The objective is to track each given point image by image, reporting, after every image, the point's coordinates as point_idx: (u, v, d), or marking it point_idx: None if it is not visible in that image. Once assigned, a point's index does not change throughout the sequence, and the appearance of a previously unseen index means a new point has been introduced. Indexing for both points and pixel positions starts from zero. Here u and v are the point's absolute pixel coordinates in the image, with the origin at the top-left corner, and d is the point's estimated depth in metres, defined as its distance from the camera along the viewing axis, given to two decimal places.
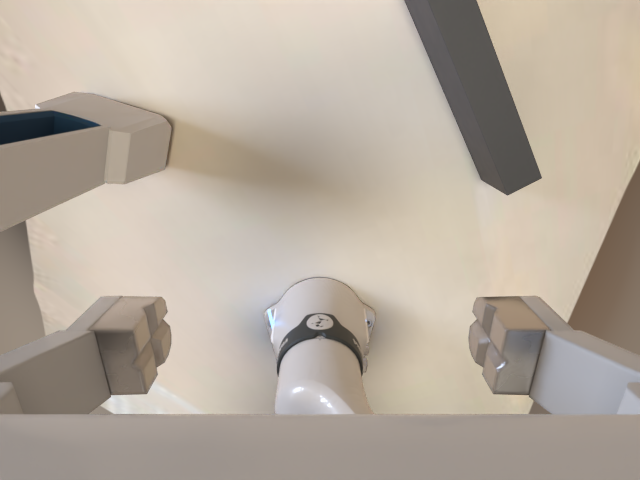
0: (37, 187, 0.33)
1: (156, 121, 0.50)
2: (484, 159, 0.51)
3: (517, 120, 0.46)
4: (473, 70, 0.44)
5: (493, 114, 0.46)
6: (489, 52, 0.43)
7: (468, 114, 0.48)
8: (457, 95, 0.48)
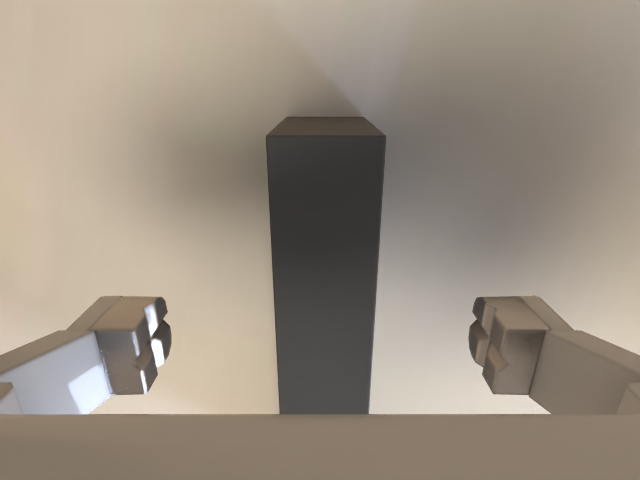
0: None
1: None
2: None
3: (282, 320, 0.18)
4: None
5: (330, 358, 0.19)
6: None
7: None
8: None
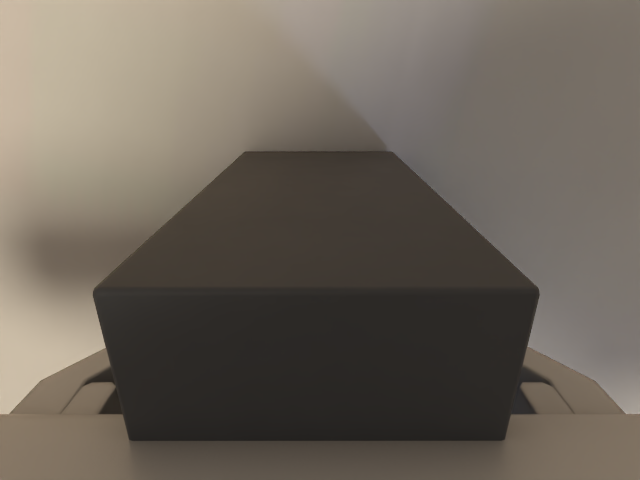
0: None
1: None
2: None
3: None
4: None
5: None
6: None
7: None
8: None
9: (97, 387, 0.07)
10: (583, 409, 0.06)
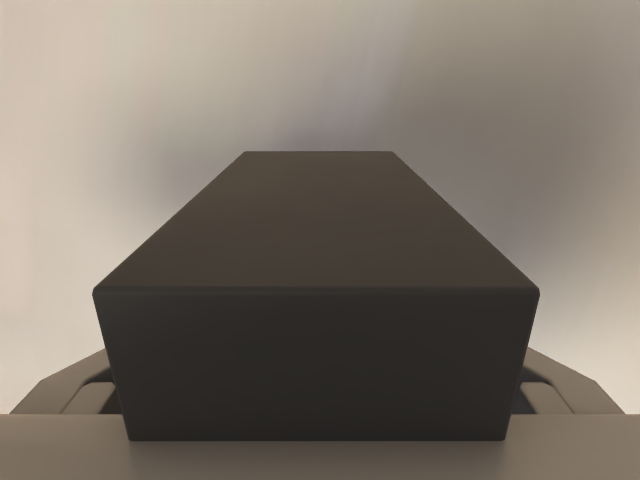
0: None
1: None
2: None
3: None
4: None
5: None
6: None
7: None
8: None
9: (97, 387, 0.07)
10: (583, 409, 0.06)
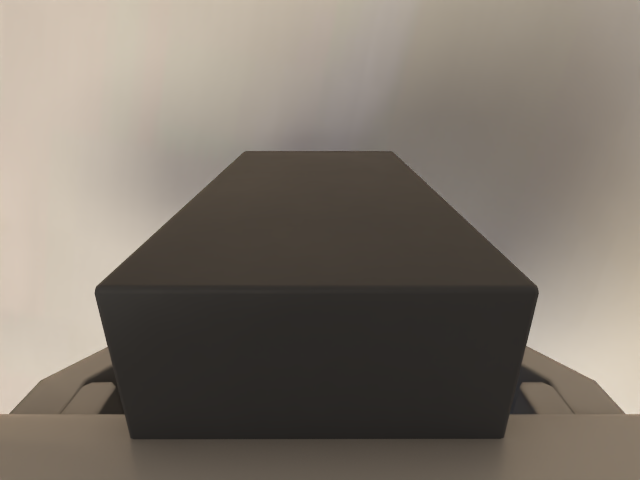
0: None
1: None
2: None
3: None
4: None
5: None
6: None
7: None
8: None
9: (97, 387, 0.07)
10: (583, 409, 0.06)
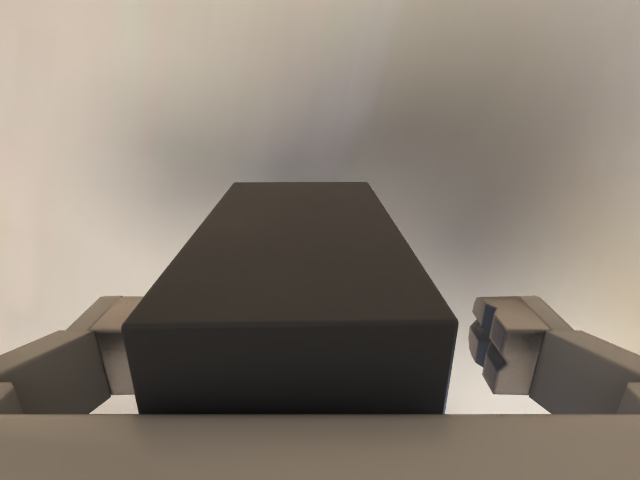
0: None
1: None
2: None
3: None
4: None
5: None
6: None
7: None
8: None
9: None
10: None
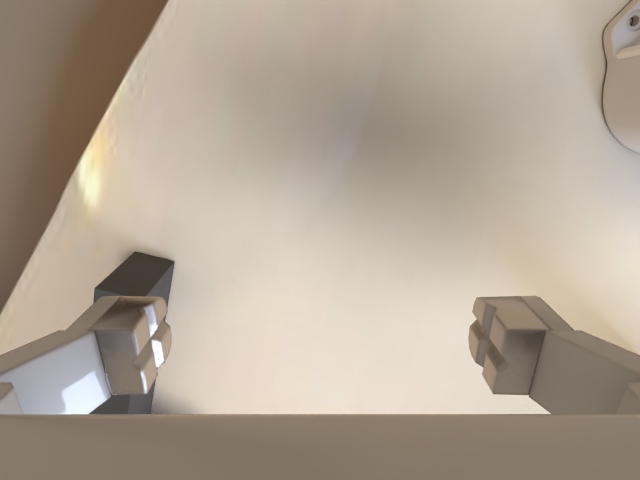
0: None
1: None
2: None
3: None
4: None
5: None
6: None
7: None
8: None
9: None
10: None
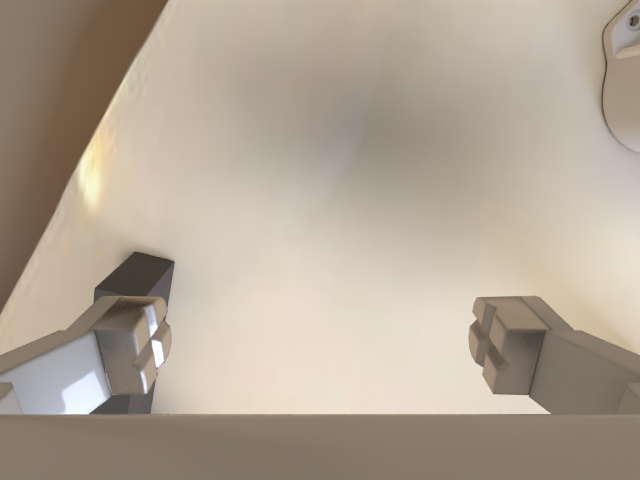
0: None
1: None
2: None
3: None
4: None
5: None
6: None
7: None
8: None
9: None
10: None
